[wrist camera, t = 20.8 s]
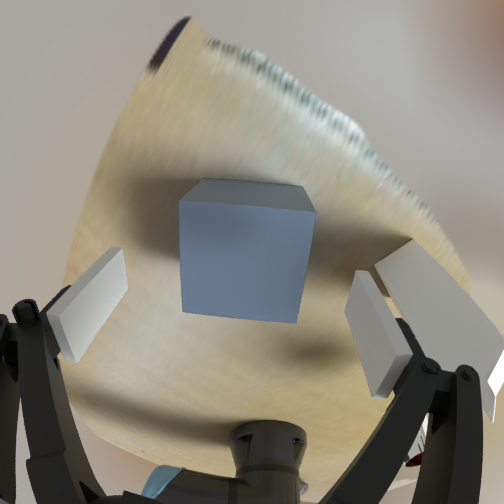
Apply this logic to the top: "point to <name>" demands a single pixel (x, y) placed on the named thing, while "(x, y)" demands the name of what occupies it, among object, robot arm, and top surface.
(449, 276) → the milk
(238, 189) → the blue gray block
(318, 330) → the top surface
